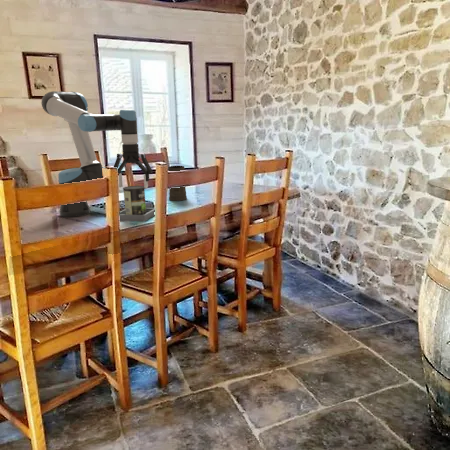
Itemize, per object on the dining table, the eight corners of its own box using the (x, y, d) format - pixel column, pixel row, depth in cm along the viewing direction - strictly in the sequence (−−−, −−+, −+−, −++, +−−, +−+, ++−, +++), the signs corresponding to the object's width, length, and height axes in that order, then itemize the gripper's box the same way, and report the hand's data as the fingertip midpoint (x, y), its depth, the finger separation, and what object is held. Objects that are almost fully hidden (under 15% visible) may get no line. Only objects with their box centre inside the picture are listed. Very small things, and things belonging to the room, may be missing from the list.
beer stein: (188, 200, 232) (186, 166, 227) (170, 201, 230) (168, 167, 224) (184, 196, 247) (182, 164, 241) (167, 197, 244) (165, 165, 239)
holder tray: (114, 220, 190) (113, 214, 189) (129, 212, 205) (128, 207, 204) (144, 221, 186) (144, 215, 186) (157, 213, 201) (157, 208, 201)
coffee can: (149, 213, 199) (147, 185, 196) (141, 217, 190) (139, 189, 186) (130, 212, 201) (128, 185, 198) (122, 217, 192) (119, 188, 188)
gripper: (157, 143, 187) (160, 186, 193) (110, 142, 192) (113, 185, 198) (151, 144, 180) (154, 189, 186) (102, 143, 185) (106, 187, 191)
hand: (133, 187), depth 192 cm, fingers open, 13 cm apart
